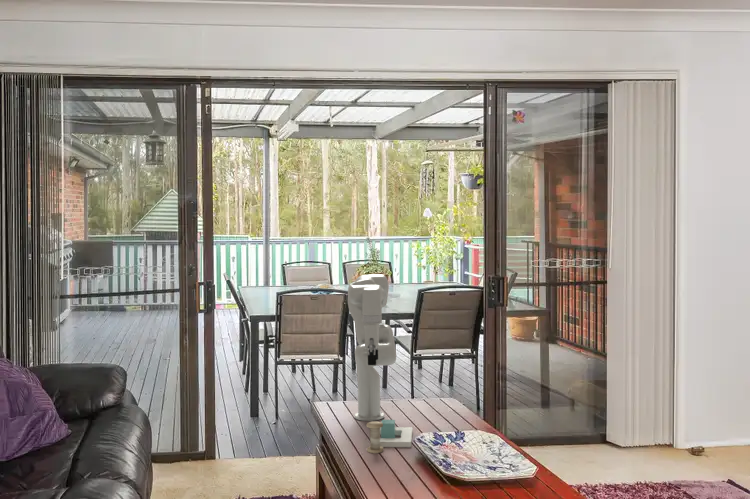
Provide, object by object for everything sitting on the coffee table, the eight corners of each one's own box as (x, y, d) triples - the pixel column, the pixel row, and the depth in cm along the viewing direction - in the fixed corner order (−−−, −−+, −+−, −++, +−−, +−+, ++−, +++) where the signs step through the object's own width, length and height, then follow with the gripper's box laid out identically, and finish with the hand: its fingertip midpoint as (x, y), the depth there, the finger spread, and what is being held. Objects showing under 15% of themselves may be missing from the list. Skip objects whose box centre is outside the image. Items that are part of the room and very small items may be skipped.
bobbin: (367, 447, 283) (367, 421, 282) (383, 447, 282) (383, 421, 281) (366, 453, 277) (365, 426, 276) (382, 453, 276) (382, 426, 275)
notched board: (377, 432, 301) (377, 427, 301) (412, 432, 300) (412, 427, 300) (373, 446, 283) (373, 441, 283) (410, 447, 282) (410, 441, 282)
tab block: (382, 437, 295) (382, 419, 294) (395, 437, 294) (394, 419, 294) (381, 441, 290) (381, 423, 289) (394, 441, 289) (394, 423, 289)
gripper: (364, 315, 306) (365, 357, 307) (360, 322, 289) (361, 367, 290) (383, 315, 306) (384, 357, 307) (380, 322, 288) (381, 367, 290)
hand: (373, 362), depth 299 cm, fingers open, 9 cm apart
